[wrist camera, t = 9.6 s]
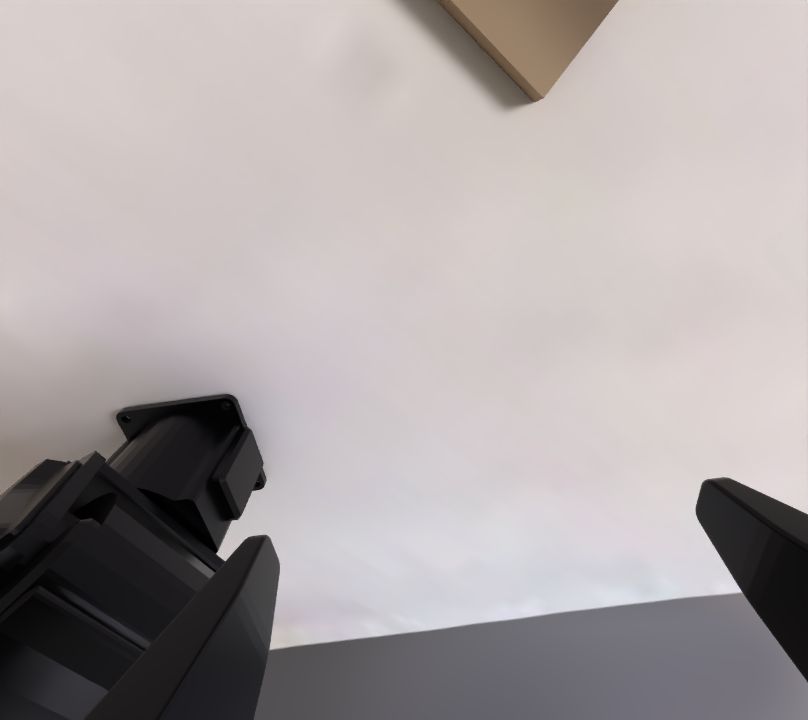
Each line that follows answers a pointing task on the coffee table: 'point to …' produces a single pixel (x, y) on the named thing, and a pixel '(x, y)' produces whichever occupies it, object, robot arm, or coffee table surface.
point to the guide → (531, 35)
